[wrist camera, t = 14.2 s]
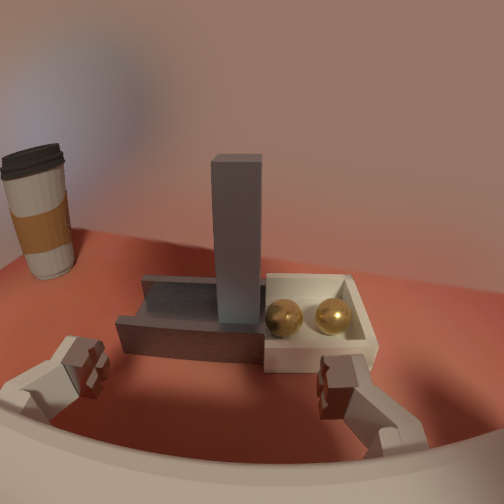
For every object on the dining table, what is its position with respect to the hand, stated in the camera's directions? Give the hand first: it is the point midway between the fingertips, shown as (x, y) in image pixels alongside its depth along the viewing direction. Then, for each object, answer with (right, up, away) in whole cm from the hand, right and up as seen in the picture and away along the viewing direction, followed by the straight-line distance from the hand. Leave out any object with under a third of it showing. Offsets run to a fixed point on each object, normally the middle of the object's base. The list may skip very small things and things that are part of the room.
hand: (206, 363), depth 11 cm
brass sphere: (+5, -2, +14) cm, 16 cm away
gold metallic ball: (+8, -2, +15) cm, 17 cm away
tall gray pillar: (+1, -2, +15) cm, 15 cm away
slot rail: (-3, -2, +15) cm, 16 cm away
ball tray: (+7, -2, +15) cm, 17 cm away
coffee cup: (-23, +2, +24) cm, 34 cm away
